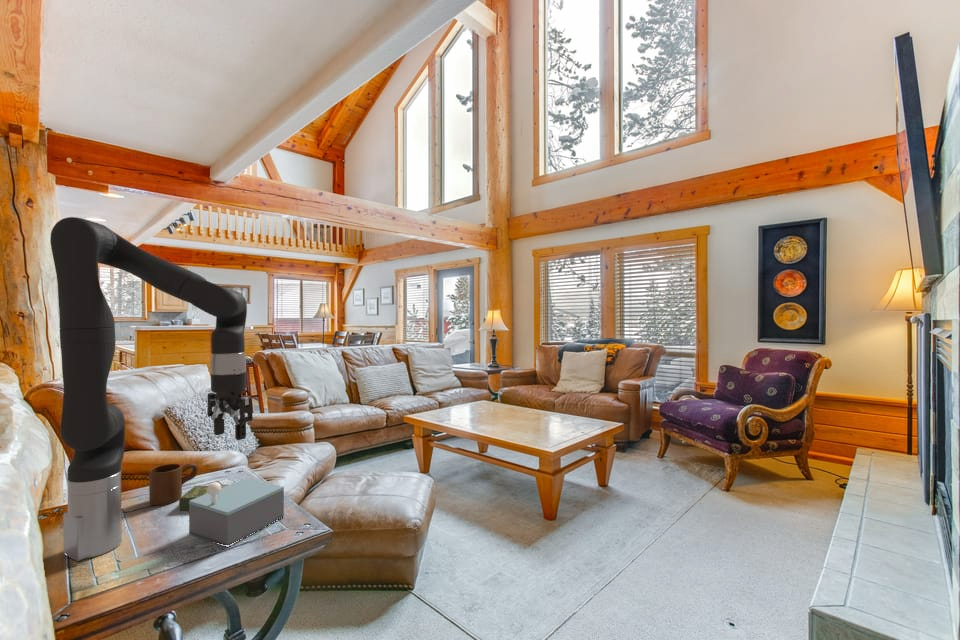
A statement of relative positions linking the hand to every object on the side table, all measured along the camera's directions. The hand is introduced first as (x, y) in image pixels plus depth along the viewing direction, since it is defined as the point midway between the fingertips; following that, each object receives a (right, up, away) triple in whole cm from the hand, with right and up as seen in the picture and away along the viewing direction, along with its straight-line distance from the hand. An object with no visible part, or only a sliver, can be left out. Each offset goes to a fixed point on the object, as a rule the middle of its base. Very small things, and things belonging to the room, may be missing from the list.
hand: (229, 436), depth 105 cm
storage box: (-1, -24, +5) cm, 25 cm away
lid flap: (-1, -17, +5) cm, 18 cm away
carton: (-14, -24, +18) cm, 33 cm away
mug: (-28, -24, +20) cm, 42 cm away
